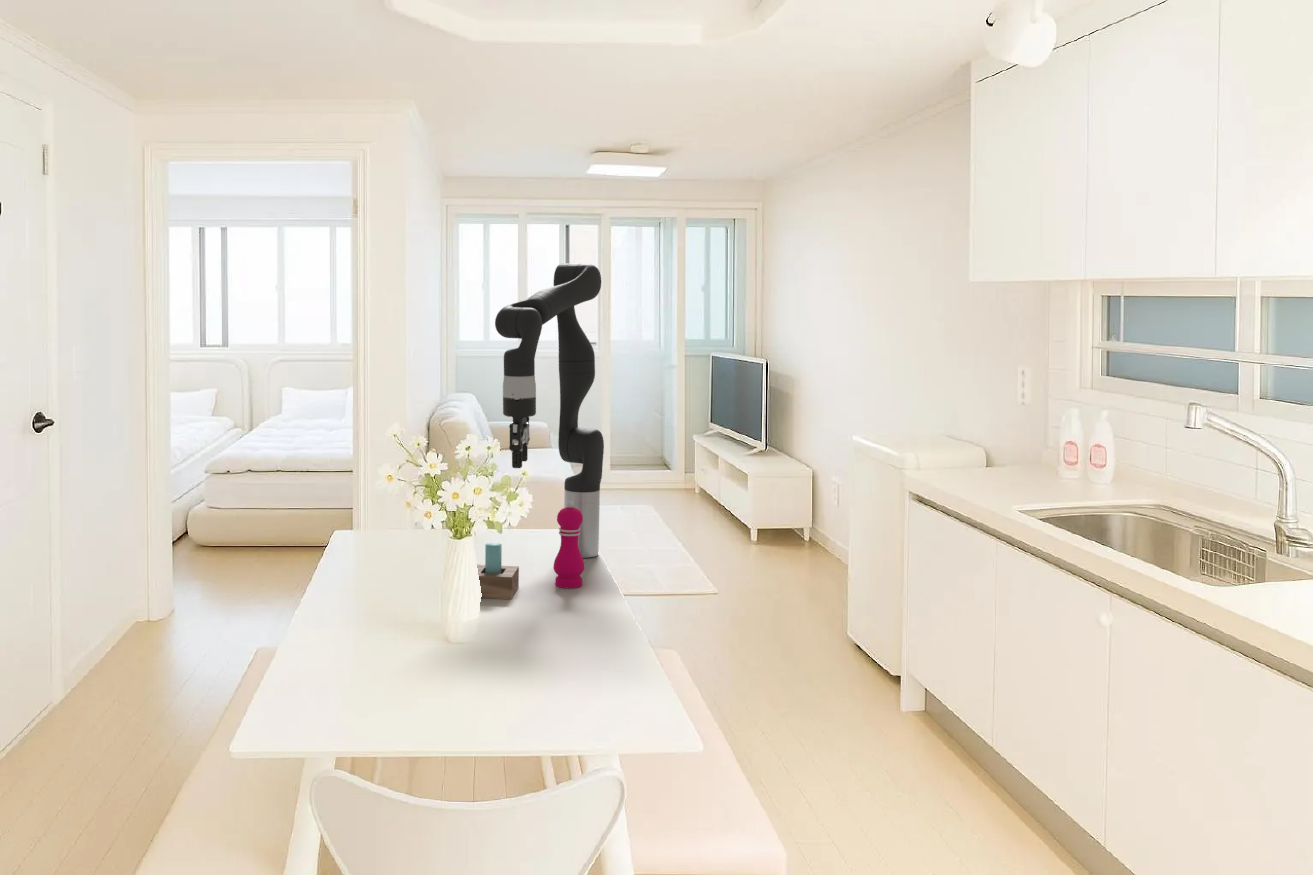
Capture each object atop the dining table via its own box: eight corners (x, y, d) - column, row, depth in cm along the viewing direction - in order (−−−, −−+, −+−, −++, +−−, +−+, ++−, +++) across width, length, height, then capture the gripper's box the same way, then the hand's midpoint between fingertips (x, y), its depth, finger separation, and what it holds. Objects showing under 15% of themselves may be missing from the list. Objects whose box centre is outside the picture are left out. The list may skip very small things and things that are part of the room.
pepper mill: (586, 582, 259) (588, 498, 257) (581, 589, 252) (583, 504, 249) (556, 580, 260) (557, 497, 257) (550, 588, 253) (551, 502, 250)
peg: (486, 585, 249) (487, 542, 248) (502, 585, 249) (502, 543, 248) (483, 589, 246) (484, 546, 245) (499, 590, 246) (500, 546, 245)
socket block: (475, 585, 253) (475, 564, 252) (518, 587, 252) (518, 566, 252) (466, 597, 243) (466, 575, 242) (511, 599, 242) (511, 577, 242)
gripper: (508, 391, 258) (508, 458, 261) (497, 398, 244) (498, 469, 247) (539, 391, 258) (540, 459, 261) (531, 399, 244) (531, 470, 247)
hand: (519, 464), depth 254 cm, fingers open, 8 cm apart
